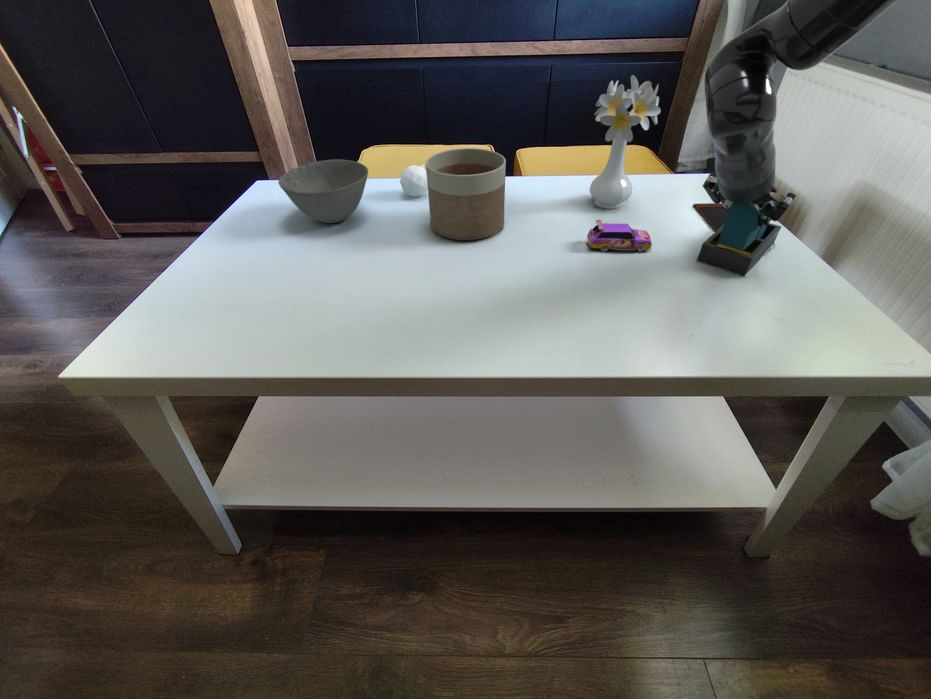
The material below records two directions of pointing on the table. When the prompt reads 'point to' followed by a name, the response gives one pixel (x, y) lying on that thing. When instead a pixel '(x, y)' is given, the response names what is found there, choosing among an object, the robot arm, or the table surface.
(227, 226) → the table surface
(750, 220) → the teal block
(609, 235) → the toy car
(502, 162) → the planter
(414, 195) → the ornament
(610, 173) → the flower vase
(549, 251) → the table surface
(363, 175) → the bowl
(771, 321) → the table surface
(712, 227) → the smartphone
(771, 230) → the dark grey open box
